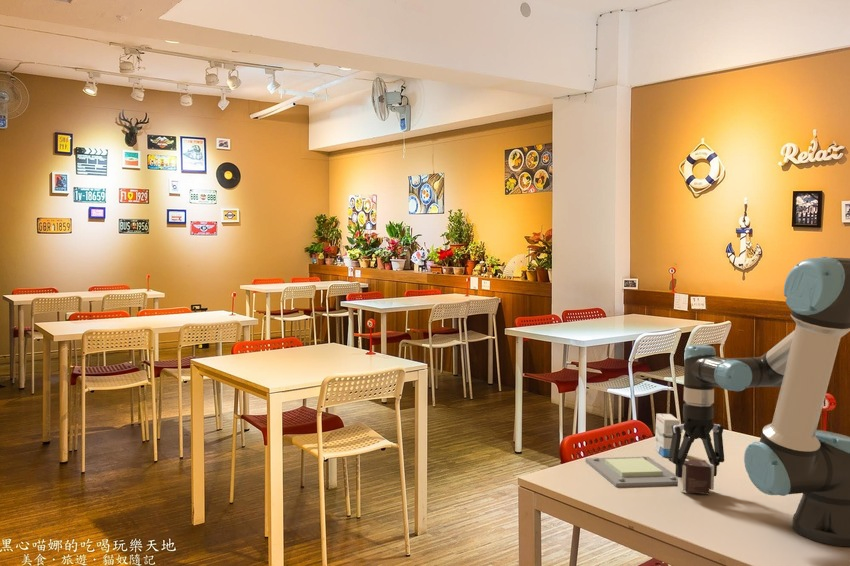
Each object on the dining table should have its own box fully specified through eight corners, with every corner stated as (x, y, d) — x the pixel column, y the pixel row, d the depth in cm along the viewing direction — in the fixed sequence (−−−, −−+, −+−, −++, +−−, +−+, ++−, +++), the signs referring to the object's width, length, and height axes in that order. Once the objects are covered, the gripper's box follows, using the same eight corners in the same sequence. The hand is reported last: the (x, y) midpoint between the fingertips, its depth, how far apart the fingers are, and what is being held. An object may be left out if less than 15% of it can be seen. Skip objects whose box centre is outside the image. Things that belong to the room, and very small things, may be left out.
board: (684, 484, 194) (685, 476, 194) (615, 486, 191) (616, 479, 191) (648, 459, 215) (648, 452, 215) (585, 461, 212) (585, 454, 212)
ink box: (678, 457, 218) (680, 420, 218) (662, 457, 218) (664, 419, 218) (669, 449, 227) (671, 413, 226) (654, 449, 227) (655, 413, 226)
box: (709, 494, 185) (710, 466, 184) (685, 492, 186) (686, 465, 186) (704, 487, 191) (705, 460, 190) (681, 485, 192) (682, 458, 192)
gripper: (725, 399, 193) (722, 482, 193) (655, 400, 190) (653, 485, 190) (741, 405, 185) (738, 492, 186) (669, 407, 182) (666, 494, 183)
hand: (695, 488), depth 188 cm, fingers closed on box, 7 cm apart
